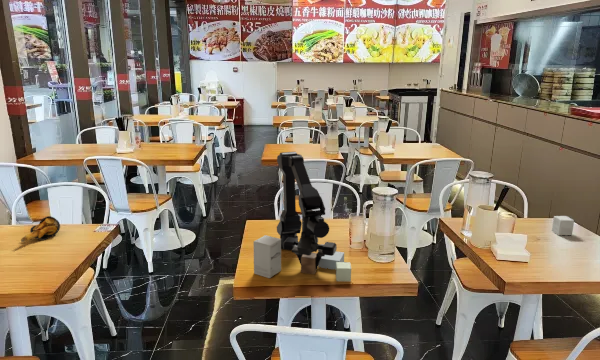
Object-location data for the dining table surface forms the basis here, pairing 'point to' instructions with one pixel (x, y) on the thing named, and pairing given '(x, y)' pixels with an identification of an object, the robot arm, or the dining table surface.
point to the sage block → (343, 271)
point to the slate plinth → (331, 260)
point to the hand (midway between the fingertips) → (309, 267)
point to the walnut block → (308, 263)
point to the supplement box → (267, 256)
